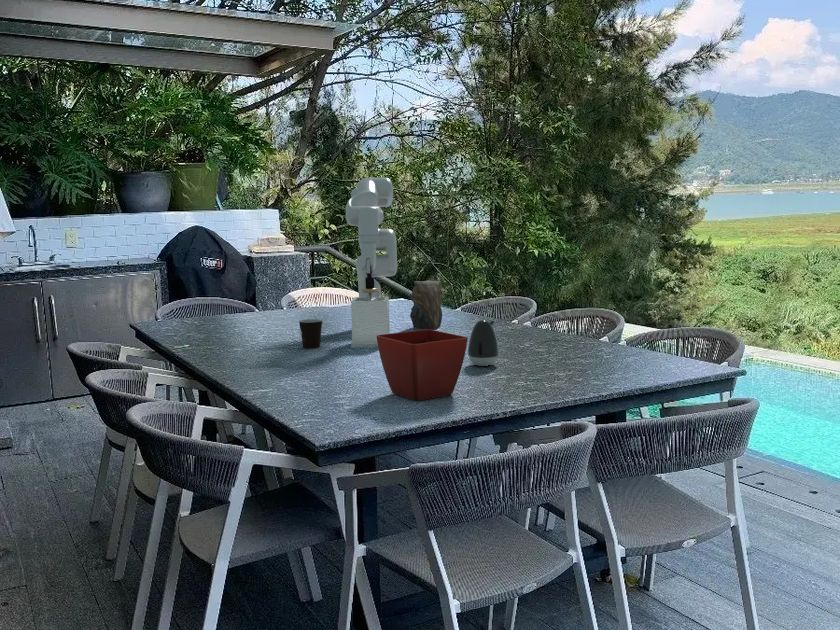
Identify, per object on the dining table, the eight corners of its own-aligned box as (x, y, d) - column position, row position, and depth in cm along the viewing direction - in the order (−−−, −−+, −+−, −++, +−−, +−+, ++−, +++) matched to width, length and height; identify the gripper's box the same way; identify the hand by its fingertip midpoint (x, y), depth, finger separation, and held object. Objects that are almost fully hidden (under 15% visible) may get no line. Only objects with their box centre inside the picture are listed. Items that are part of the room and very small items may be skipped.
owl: (409, 328, 368) (408, 281, 366) (421, 324, 380) (420, 279, 377) (436, 329, 363) (435, 282, 360) (447, 325, 375) (447, 279, 372)
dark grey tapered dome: (505, 365, 285) (505, 319, 283) (485, 369, 277) (484, 323, 275) (482, 361, 292) (481, 316, 290) (461, 365, 284) (461, 320, 282)
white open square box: (354, 341, 336) (353, 297, 333) (390, 341, 335) (389, 296, 333) (351, 347, 322) (349, 301, 319) (388, 347, 321) (387, 300, 319)
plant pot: (470, 395, 241) (469, 336, 239) (414, 406, 230) (413, 344, 228) (429, 384, 257) (429, 328, 255) (375, 393, 246) (374, 335, 244)
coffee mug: (318, 349, 320) (317, 322, 318) (296, 348, 322) (295, 322, 320) (328, 344, 331) (327, 318, 330) (306, 343, 333) (306, 318, 331)
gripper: (360, 239, 331) (362, 286, 333) (356, 240, 316) (358, 290, 318) (380, 238, 330) (381, 286, 333) (377, 240, 316) (378, 290, 318)
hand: (370, 288), depth 325 cm, fingers closed
